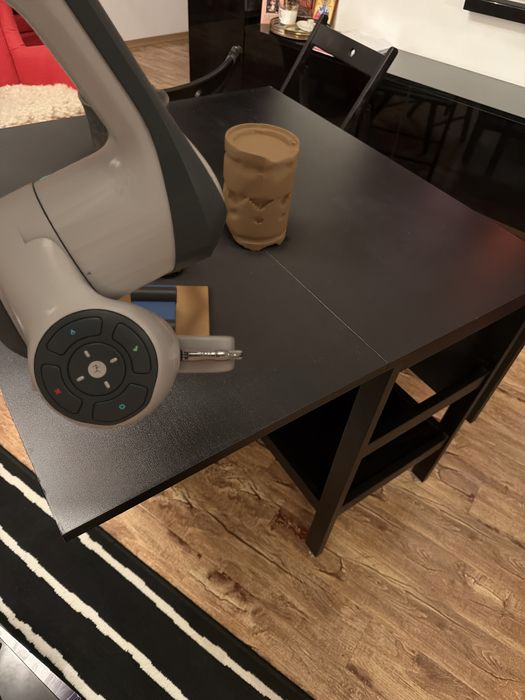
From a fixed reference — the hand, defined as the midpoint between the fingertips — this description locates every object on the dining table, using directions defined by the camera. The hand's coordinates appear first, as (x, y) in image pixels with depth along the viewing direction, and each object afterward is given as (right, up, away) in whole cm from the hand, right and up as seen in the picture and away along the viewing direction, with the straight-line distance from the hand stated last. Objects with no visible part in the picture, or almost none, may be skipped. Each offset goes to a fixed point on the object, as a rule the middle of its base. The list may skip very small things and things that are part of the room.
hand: (145, 350), depth 57 cm
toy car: (-1, 0, +7) cm, 7 cm away
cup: (-15, +40, +48) cm, 64 cm away
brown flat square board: (-2, +5, +16) cm, 17 cm away
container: (+12, +23, +36) cm, 44 cm away
